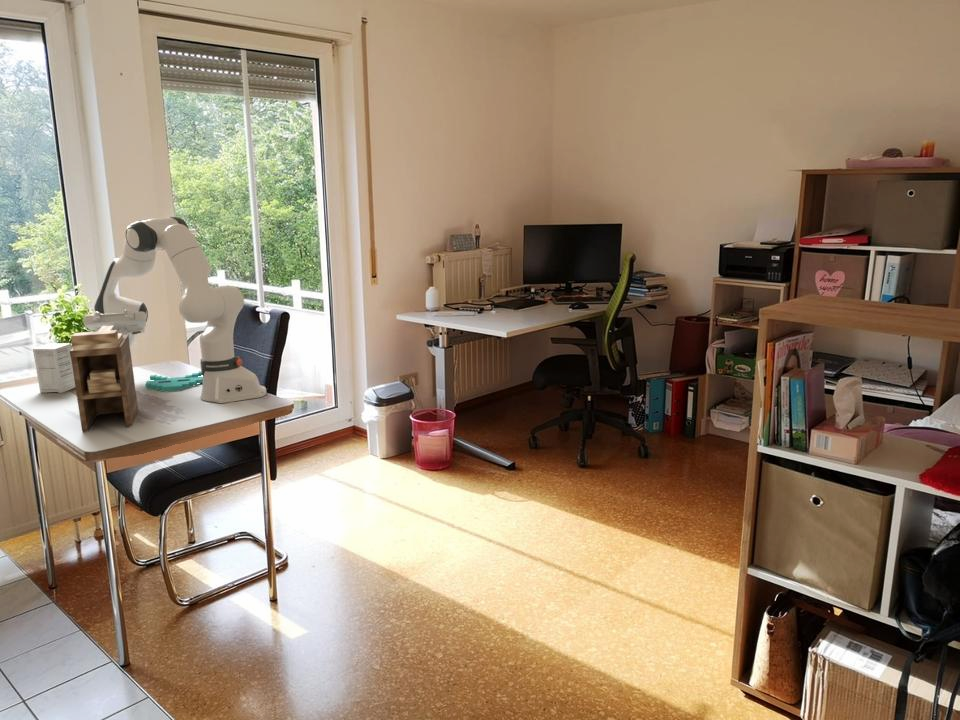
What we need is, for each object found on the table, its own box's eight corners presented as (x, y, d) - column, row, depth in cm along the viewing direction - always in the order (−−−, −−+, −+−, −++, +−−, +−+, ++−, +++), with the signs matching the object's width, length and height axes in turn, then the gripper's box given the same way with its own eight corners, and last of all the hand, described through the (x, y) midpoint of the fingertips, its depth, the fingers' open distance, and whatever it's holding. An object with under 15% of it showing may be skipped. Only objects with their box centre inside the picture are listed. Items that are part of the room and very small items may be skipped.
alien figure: (151, 380, 290) (143, 394, 271) (150, 375, 290) (142, 388, 271) (205, 376, 295) (201, 389, 277) (204, 371, 295) (200, 384, 276)
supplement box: (79, 386, 282) (72, 343, 278) (62, 393, 273) (55, 348, 269) (56, 385, 283) (49, 342, 279) (39, 392, 275) (31, 348, 270)
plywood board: (128, 330, 253) (126, 317, 252) (116, 347, 228) (114, 333, 226) (89, 332, 250) (87, 319, 249) (73, 350, 224) (71, 336, 223)
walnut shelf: (138, 409, 253) (128, 334, 246) (131, 427, 234) (120, 347, 228) (92, 413, 248) (81, 337, 242) (82, 432, 230) (69, 351, 224)
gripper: (87, 320, 271) (78, 306, 258) (147, 316, 277) (142, 302, 265) (87, 336, 270) (79, 323, 257) (148, 331, 276) (143, 319, 263)
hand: (111, 313), depth 261 cm, fingers open, 8 cm apart
